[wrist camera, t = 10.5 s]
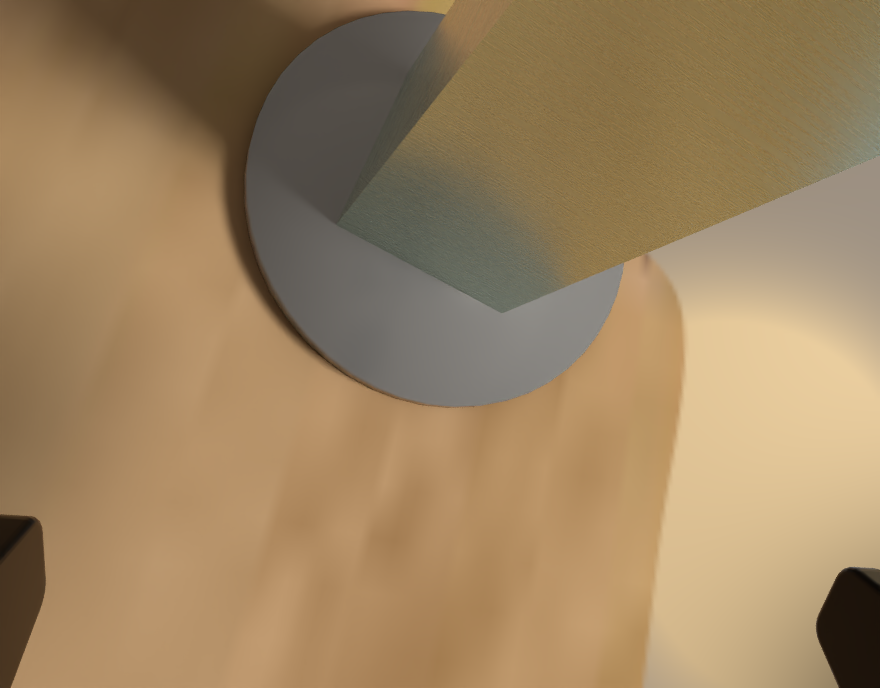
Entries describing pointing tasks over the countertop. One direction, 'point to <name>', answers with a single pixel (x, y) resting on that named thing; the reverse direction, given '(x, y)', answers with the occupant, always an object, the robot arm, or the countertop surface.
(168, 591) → the countertop surface
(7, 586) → the robot arm
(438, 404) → the slate coaster
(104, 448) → the countertop surface
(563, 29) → the sage tea tin
